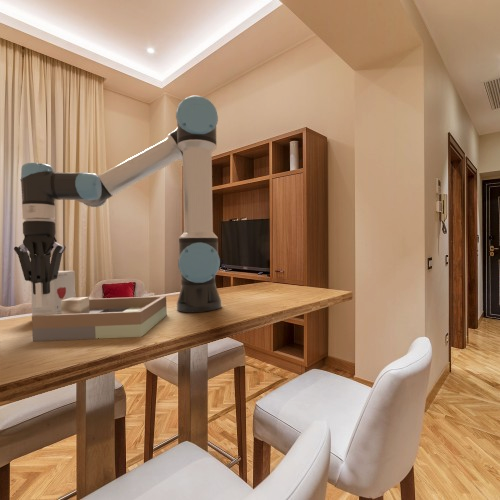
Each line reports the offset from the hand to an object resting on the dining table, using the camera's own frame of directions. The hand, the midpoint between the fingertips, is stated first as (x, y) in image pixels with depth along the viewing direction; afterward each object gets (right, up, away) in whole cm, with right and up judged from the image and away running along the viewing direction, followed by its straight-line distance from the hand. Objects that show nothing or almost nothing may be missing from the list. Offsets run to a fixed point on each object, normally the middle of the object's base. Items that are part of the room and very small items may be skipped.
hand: (42, 305), depth 87 cm
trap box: (+18, -6, 0) cm, 19 cm away
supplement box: (-6, -7, +15) cm, 17 cm away
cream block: (+9, -3, 0) cm, 10 cm away
